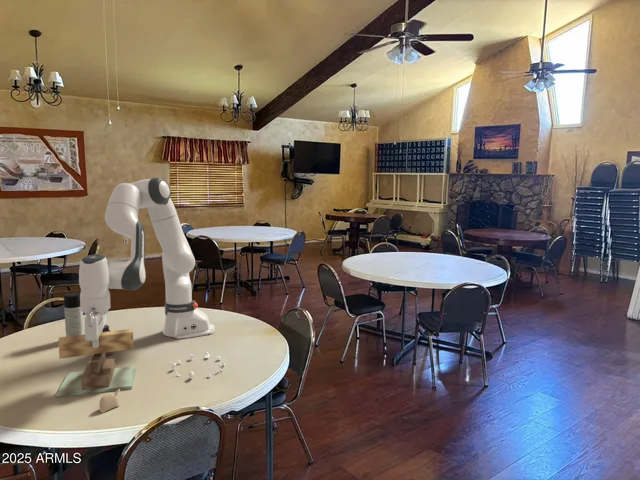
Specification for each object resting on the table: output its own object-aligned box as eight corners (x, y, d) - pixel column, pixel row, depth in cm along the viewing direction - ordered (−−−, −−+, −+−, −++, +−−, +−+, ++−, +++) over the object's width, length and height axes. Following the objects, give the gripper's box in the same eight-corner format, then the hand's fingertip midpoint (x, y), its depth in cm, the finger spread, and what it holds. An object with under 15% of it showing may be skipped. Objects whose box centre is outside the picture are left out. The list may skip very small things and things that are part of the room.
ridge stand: (136, 368, 160) (135, 342, 158) (132, 388, 145) (131, 359, 143) (68, 375, 153) (66, 348, 152) (56, 397, 138) (54, 367, 137)
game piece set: (207, 385, 149) (207, 374, 149) (159, 374, 156) (159, 364, 156) (236, 363, 167) (236, 353, 167) (192, 354, 174) (192, 345, 174)
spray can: (87, 337, 188) (85, 292, 186) (77, 343, 182) (75, 296, 179) (73, 336, 189) (70, 291, 186) (62, 342, 182) (59, 295, 180)
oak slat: (132, 345, 154) (132, 328, 153) (133, 348, 151) (133, 332, 150) (60, 354, 144) (59, 337, 143) (59, 358, 141) (58, 341, 140)
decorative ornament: (95, 410, 131) (95, 396, 131) (118, 401, 137) (117, 387, 136) (101, 414, 129) (100, 399, 129) (124, 404, 135) (123, 391, 134)
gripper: (100, 312, 136) (102, 355, 138) (110, 295, 156) (112, 333, 157) (78, 314, 134) (80, 357, 136) (90, 296, 154) (92, 334, 156)
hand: (97, 344), depth 147 cm, fingers closed on oak slat, 4 cm apart
